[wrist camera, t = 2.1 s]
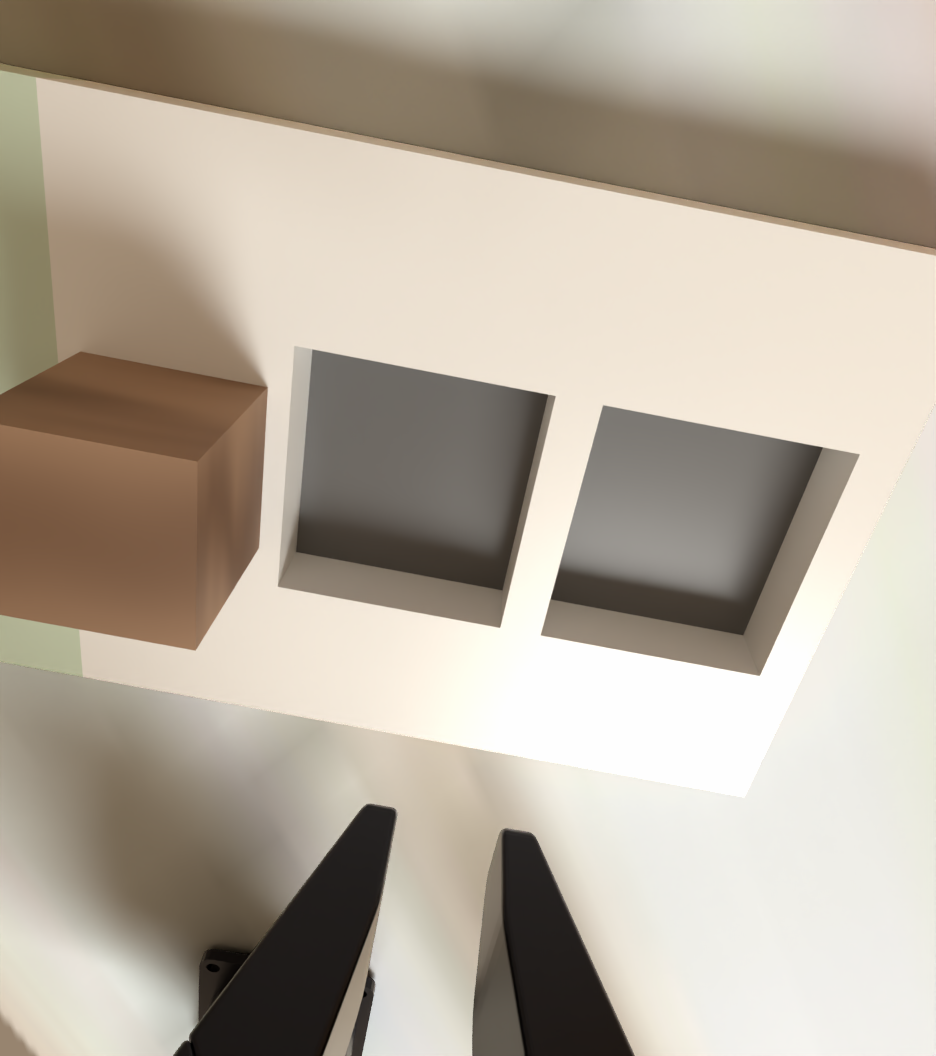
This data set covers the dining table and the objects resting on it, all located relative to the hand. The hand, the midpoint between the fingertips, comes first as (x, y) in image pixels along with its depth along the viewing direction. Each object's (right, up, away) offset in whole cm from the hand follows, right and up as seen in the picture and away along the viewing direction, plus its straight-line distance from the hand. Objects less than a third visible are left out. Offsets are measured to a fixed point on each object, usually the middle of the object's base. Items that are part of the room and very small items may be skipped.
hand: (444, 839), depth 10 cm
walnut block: (-6, +5, +8) cm, 11 cm away
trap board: (-3, +6, +10) cm, 12 cm away
